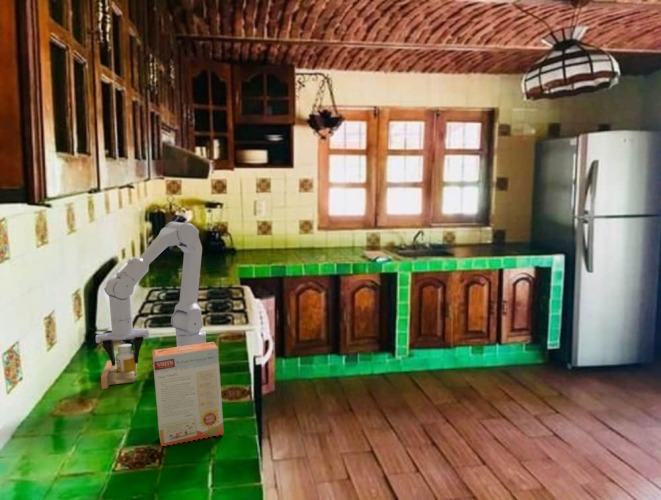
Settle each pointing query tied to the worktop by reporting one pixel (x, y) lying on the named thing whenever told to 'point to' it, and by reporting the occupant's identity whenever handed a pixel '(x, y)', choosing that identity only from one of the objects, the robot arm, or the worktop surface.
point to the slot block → (120, 376)
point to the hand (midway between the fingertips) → (125, 363)
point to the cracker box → (188, 393)
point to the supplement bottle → (126, 359)
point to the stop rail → (105, 375)
